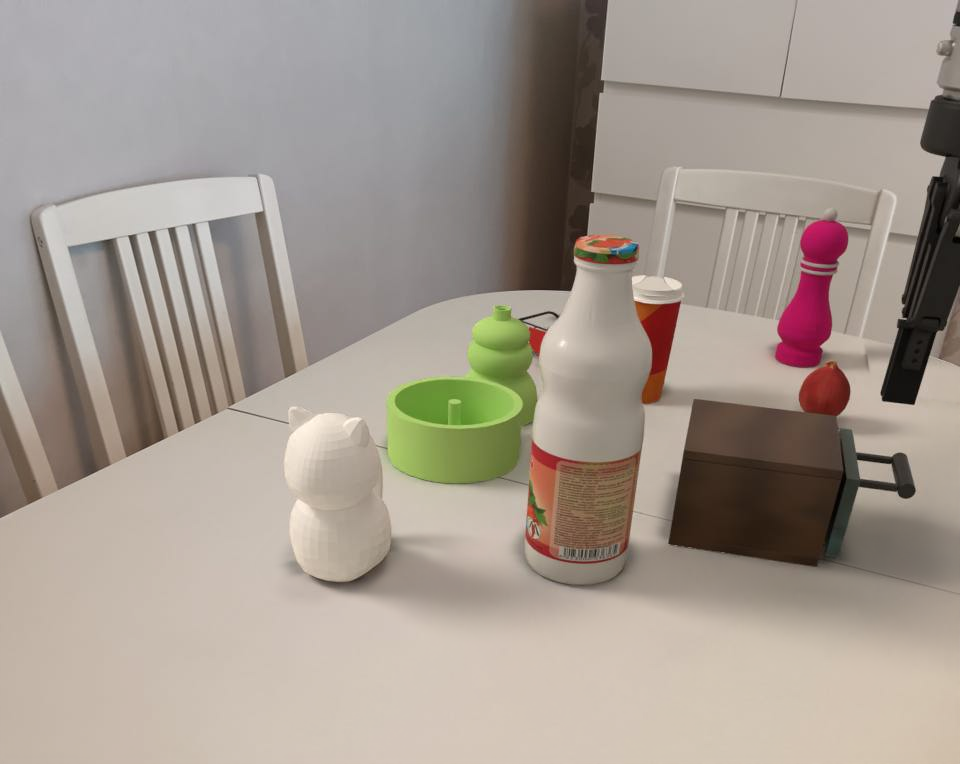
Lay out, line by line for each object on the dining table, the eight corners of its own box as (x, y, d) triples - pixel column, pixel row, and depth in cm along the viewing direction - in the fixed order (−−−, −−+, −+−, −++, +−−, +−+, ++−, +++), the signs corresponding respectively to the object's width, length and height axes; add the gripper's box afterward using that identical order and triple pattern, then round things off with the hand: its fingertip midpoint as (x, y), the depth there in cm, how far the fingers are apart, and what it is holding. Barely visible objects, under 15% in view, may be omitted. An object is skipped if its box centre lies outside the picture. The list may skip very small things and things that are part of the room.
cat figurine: (269, 583, 84) (251, 421, 76) (333, 519, 94) (323, 369, 85) (363, 604, 82) (355, 440, 73) (418, 537, 92) (418, 385, 83)
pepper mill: (763, 361, 135) (795, 207, 124) (781, 347, 140) (813, 199, 129) (813, 372, 132) (851, 216, 121) (830, 358, 137) (868, 207, 125)
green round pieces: (489, 494, 100) (494, 375, 92) (364, 466, 104) (359, 350, 97) (566, 410, 119) (575, 306, 111) (458, 389, 123) (460, 288, 116)
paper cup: (611, 381, 127) (624, 271, 119) (670, 388, 126) (687, 277, 118) (605, 403, 121) (618, 288, 112) (667, 410, 120) (685, 295, 111)
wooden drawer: (886, 509, 98) (909, 436, 93) (897, 566, 88) (923, 488, 84) (707, 485, 101) (721, 413, 96) (700, 537, 92) (715, 461, 87)
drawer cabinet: (813, 505, 100) (836, 415, 94) (817, 567, 90) (843, 470, 84) (678, 486, 102) (693, 398, 97) (667, 544, 92) (683, 449, 87)
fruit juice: (593, 599, 84) (633, 265, 68) (503, 564, 88) (521, 242, 72) (643, 556, 90) (691, 240, 74) (557, 525, 95) (584, 221, 78)
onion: (797, 411, 121) (812, 347, 116) (845, 420, 119) (862, 356, 114) (788, 427, 116) (803, 362, 112) (837, 437, 115) (854, 371, 110)
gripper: (922, 83, 78) (848, 368, 92) (946, 103, 67) (858, 422, 81) (1022, 89, 77) (931, 377, 91) (1062, 110, 66) (952, 434, 80)
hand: (897, 398), depth 86 cm, fingers closed
